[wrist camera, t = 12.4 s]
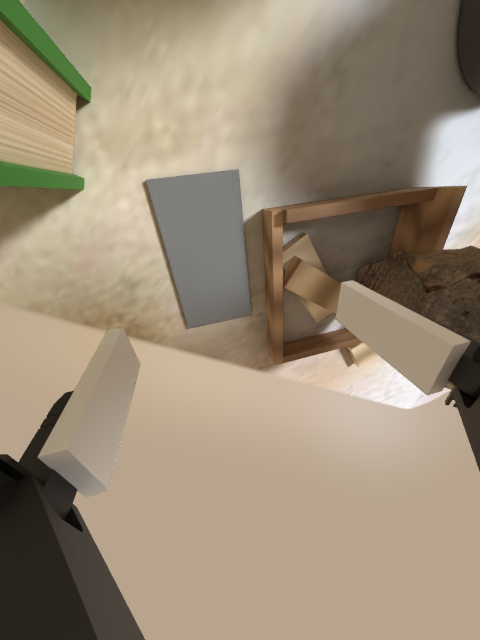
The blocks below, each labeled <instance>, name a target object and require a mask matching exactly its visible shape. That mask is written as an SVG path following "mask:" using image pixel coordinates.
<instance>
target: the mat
mask: <svg viewBox="0 0 480 640" xmlns="http://www.w3.org/2000/svg"><path fill="white" fill-rule="evenodd" d="M146 182H147V186H148V189H149V193H150V196H151V200H152V203H153V207H154V210H155V214H156V217H157V221H158V224H159V228H160V232H161V235H162V239H163V242H164V246H165V249H166V253H167V256H168V260H169V263H170V267H171V270H172V274H173V277H174V281H175V284H176V288H177V291H178V295H179V298H180V302H181V305H182V309H183V312H184V316H185V319H186V323H187V326H188V329H190V328H195V327H199V326H204V325H208V324H213V323H217V322H222V321H227V320H231V319H236V318H240V317H245V316H249V315H252V312H251V301H250V290H249V279H248V268H247V257H246V246H245V235H244V224H243V213H242V202H241V191H240V180H239V169H237V170H229V171H220V172H211V173H202V174H194V175H185V176H176V177H167V178H159V179H150V180H146Z"/></svg>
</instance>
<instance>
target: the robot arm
mask: <svg viewBox="0 0 480 640" xmlns="http://www.w3.org/2000/svg"><path fill="white" fill-rule="evenodd" d="M459 58H460V64H461V69H462V73H463V75H464V78H465V80H466V82H467V84H468V85H469V86H470V88H471V89H472V90H473V91H474V92H476V93H477V94H479V95H480V0H463V4H462V10H461V16H460V25H459ZM336 320H337V321H338V322H339V323H340V324H342V325H343V326H344V327H345V328H346V329H348V330H349V331H350V332H351V333H352V334H354V335H355V336H356V337H357V338H358V339H360V340H361V341H362V342H363V343H364V344H366V345H367V346H368V347H369V348H371V349H372V350H373V351H374V352H375V353H377V354H378V355H379V356H380V357H381V358H383V359H384V360H385V361H386V362H387V363H389V364H390V365H391V366H392V367H393V368H395V369H396V370H397V371H398V372H400V373H401V374H402V375H403V376H404V377H406V378H407V379H408V380H409V381H410V382H412V383H413V384H414V385H415V386H416V387H418V388H419V389H420V390H421V391H422V392H424V393H425V394H426V395H430V394H433V393H436V392H440V391H442V390H443V388H444V386H445V385H446V383H447V381H449V382H451V383H452V384H453V385H455V386H454V387H453V389H452V391H451V392H450V394H449V396H448V397H447V399H446V400H445V404H446V405H449V404H450V402H451V401H452V400H455V402H456V403H455V404H454V406H453V407H457V408H458V410H459V413H460V416H461V419H462V422H463V425H464V427H465V431H466V433H467V436H468V439H469V442H470V445H471V448H472V451H473V453H474V456H475V459H476V462H477V465H478V468H479V470H480V343H478V342H476V341H474V340H472V339H470V338H468V337H466V336H464V335H462V334H460V333H458V332H457V331H455V330H453V329H451V328H449V327H447V326H443V324H441V323H439V322H435V320H433V319H431V318H429V317H427V316H425V315H422V314H419V313H416V312H413V311H411V310H409V309H407V308H405V307H404V306H402V305H400V304H398V303H396V302H394V301H392V300H390V299H388V298H386V297H384V296H382V295H380V294H378V293H376V292H374V291H372V290H370V289H368V288H366V287H365V286H363V285H361V284H359V283H357V282H355V281H353V280H351V281H346V282H341V288H340V294H339V301H338V307H337V314H336ZM139 368H140V362H139V360H138V358H137V356H136V354H135V352H134V350H133V348H132V345H131V343H130V341H129V339H128V337H127V335H126V333H125V331H124V329H123V327H119V328H114V329H109V330H107V332H106V334H105V336H104V337H103V339H102V341H101V343H100V345H99V346H98V348H97V350H96V352H95V354H94V356H93V357H92V359H91V361H90V363H89V365H88V366H87V368H86V370H85V372H84V374H83V375H82V377H81V379H80V381H79V383H78V385H77V386H76V388H75V390H74V391H71V392H67V393H65V394H64V395H63V396H62V397H61V398H60V399H59V400H58V401H57V402H56V403H55V404H54V405H53V407H52V408H51V410H50V411H49V413H48V415H47V418H46V419H45V420H44V421H43V423H42V425H41V426H40V427H41V428H40V429H38V431H37V433H36V434H35V436H34V438H33V439H32V441H31V442H30V444H29V446H28V448H27V449H26V451H25V452H24V454H23V456H22V457H21V459H20V461H19V462H17V461H15V460H14V459H13V458H11V457H10V456H9V455H5V454H2V455H1V454H0V640H145V639H144V637H143V635H142V633H141V631H140V629H139V627H138V625H137V623H136V621H135V619H134V617H133V615H132V614H131V611H130V609H129V607H128V606H127V604H126V602H125V600H124V598H123V596H122V594H121V592H120V590H119V588H118V586H117V584H116V582H115V580H114V578H113V577H112V575H111V573H110V571H109V569H108V567H107V565H106V563H105V561H104V559H103V557H102V555H101V553H100V551H99V550H98V548H97V545H96V544H95V542H94V540H93V538H92V536H91V534H90V532H89V530H88V528H87V526H86V524H85V522H84V520H83V518H82V517H81V514H80V513H79V511H78V509H77V507H76V506H75V505H74V504H73V500H74V498H75V495H76V492H77V491H78V492H80V493H81V494H82V495H83V496H84V497H89V496H92V495H96V494H99V493H102V492H106V491H109V488H110V484H111V480H112V476H113V472H114V468H115V464H116V460H117V456H118V452H119V448H120V444H121V440H122V436H123V432H124V427H125V424H126V420H127V416H128V412H129V407H130V404H131V400H132V396H133V391H134V388H135V384H136V379H137V376H138V372H139Z"/></svg>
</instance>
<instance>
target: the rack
mask: <svg viewBox="0 0 480 640" xmlns="http://www.w3.org/2000/svg"><path fill="white" fill-rule="evenodd" d="M466 188H467V186H444V187H413V188H406V189H399V190H392V191H385V192H379V193H372V194H365V195H358V196H351V197H344V198H337V199H330V200H323V201H316V202H309V203H303V204H296V205H289V206H282V207H275V208H268V209H262V217H263V238H264V260H265V281H266V302H267V323H268V345H269V354H270V356H271V358H272V359H273V361H274V363H275V365H278V364H282V363H286V362H289V361H293V360H297V359H301V358H305V357H309V356H313V355H316V354H320V353H324V352H328V351H332V350H336V349H340V348H343V347H347V346H351V345H355V344H359V343H363V342H362V341H361V340H360V339H358V338H357V337H356V336H355V335H354V334H352V333H351V332H350V331H349V330H348V329H346V328H345V329H341V330H337V331H333V332H329V333H325V334H321V335H317V336H312V337H308V338H304V339H300V340H296V341H292V342H288V343H284V344H283V222H284V223H292V222H298V221H305V220H311V219H317V218H324V217H330V216H336V215H343V214H349V213H355V212H362V211H368V210H375V209H381V208H387V207H394V206H400V205H401V209H400V213H399V217H398V221H397V225H396V229H395V233H394V237H393V240H392V244H391V248H390V252H389V256H388V259H389V258H390V257H391V256H393V255H394V254H395V252H399V251H403V252H407V253H413V254H428V253H431V252H434V251H437V250H443V248H444V245H445V242H446V240H447V237H448V235H449V232H450V229H451V227H452V224H453V222H454V219H455V216H456V214H457V211H458V209H459V206H460V203H461V201H462V198H463V196H464V193H465V190H466Z"/></svg>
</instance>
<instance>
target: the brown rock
mask: <svg viewBox="0 0 480 640" xmlns="http://www.w3.org/2000/svg"><path fill="white" fill-rule="evenodd" d="M357 274H358V280H357V282H358V283H359V284H361V285H363V286H365V287H366V288H368V289H370V290H372V291H374V292H376V293H378V294H380V295H382V296H384V297H386V298H388V299H390V300H392V301H394V302H396V303H398V304H400V305H402V306H404V307H405V308H407V309H409V310H411V311H413V312H416V313H419V314H422V315H425V316H427V317H429V318H431V319H433V320H435V322H439V323H441V324H443V326H447V327H449V328H451V329H453V330H455V331H457V332H458V333H460V334H462V335H464V336H466V337H468V338H470V339H472V340H474V341H476V342H478V343H480V249H479V248H476V247H474V246H469V247H466V248H463V249H453V250H437V251H434V252H431V253H428V254H413V253H407V252H403V251H399V252H395V254H394V255H393V256H391V257H390V258H389V259H386V260H384V261H381V262H376V263H375V264H371V263H370V264H368V265H366V266H364V267H362V268H361V269H359V270H358V273H357ZM454 386H455V385H453V384H452V383H451V382H449V381H447V383H446V385H445V386H444V387H445V388H448V389H451V390H452V389H453V387H454Z"/></svg>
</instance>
